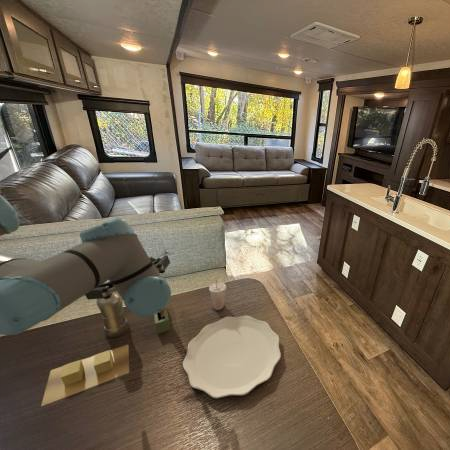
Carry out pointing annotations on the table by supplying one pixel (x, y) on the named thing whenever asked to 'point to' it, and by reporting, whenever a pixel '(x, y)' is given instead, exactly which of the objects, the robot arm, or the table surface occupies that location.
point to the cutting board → (86, 376)
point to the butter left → (72, 372)
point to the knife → (162, 314)
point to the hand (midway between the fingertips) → (127, 271)
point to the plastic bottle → (113, 315)
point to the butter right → (103, 362)
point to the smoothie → (218, 294)
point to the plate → (232, 356)
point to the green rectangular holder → (162, 323)
